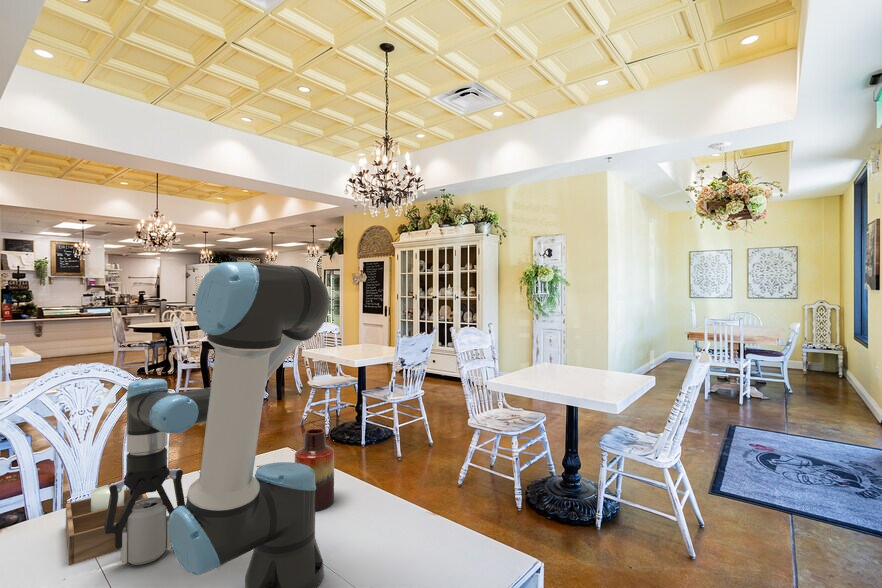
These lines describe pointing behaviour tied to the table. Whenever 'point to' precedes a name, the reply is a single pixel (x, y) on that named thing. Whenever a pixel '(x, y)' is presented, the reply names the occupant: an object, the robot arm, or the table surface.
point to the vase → (319, 466)
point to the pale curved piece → (104, 498)
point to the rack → (90, 530)
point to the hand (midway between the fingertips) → (146, 553)
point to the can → (146, 531)
